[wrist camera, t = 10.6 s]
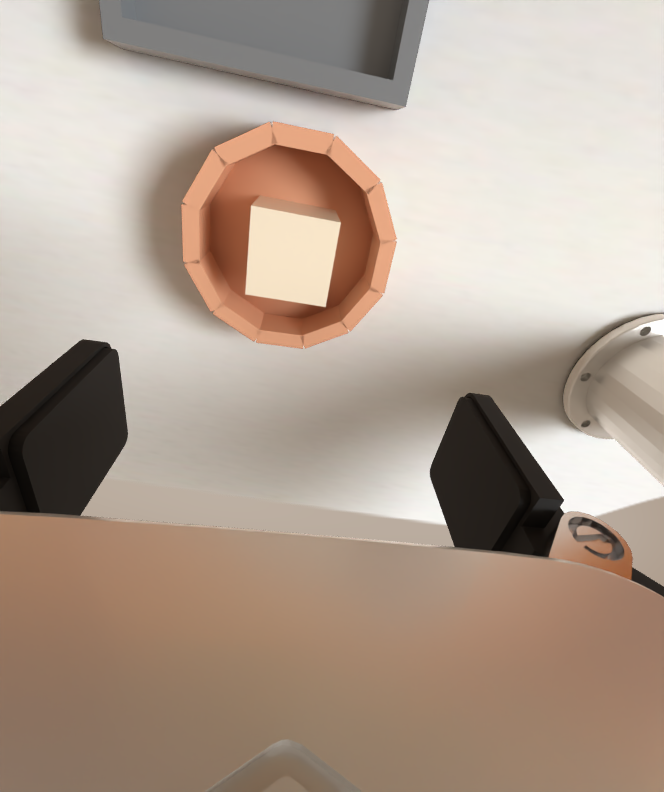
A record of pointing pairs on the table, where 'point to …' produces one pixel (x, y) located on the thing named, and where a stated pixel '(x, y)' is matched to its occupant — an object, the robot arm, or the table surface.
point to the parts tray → (282, 41)
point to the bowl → (297, 182)
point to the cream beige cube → (291, 251)
